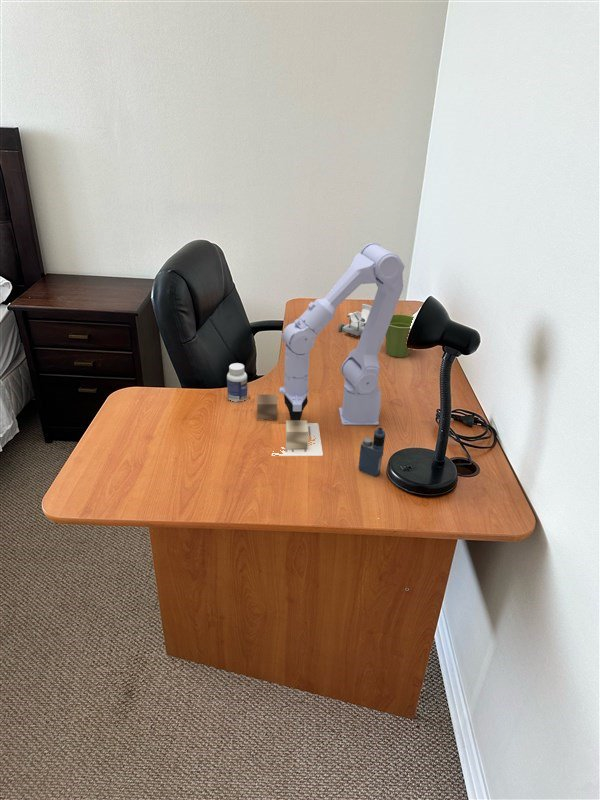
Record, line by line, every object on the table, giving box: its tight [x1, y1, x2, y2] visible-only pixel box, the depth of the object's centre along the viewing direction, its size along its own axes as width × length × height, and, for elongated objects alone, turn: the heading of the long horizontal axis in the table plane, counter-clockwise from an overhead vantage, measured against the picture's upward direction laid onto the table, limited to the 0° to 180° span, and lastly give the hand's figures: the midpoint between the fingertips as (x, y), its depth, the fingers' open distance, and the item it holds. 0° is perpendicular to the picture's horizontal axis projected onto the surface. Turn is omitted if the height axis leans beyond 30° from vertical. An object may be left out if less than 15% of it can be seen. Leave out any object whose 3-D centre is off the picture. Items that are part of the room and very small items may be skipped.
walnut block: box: [256, 393, 278, 421], centre depth 144 cm, size 5×5×5 cm
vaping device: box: [358, 427, 386, 478], centre depth 123 cm, size 3×5×12 cm, turn 58°
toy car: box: [337, 303, 372, 337], centre depth 193 cm, size 18×10×12 cm
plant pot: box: [385, 313, 415, 358], centre depth 178 cm, size 12×12×11 cm
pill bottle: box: [226, 362, 248, 403], centre depth 150 cm, size 5×5×10 cm
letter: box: [271, 422, 324, 457], centre depth 136 cm, size 12×14×1 cm
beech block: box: [285, 419, 308, 450], centre depth 133 cm, size 5×5×5 cm
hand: (295, 421), depth 140 cm, fingers closed
